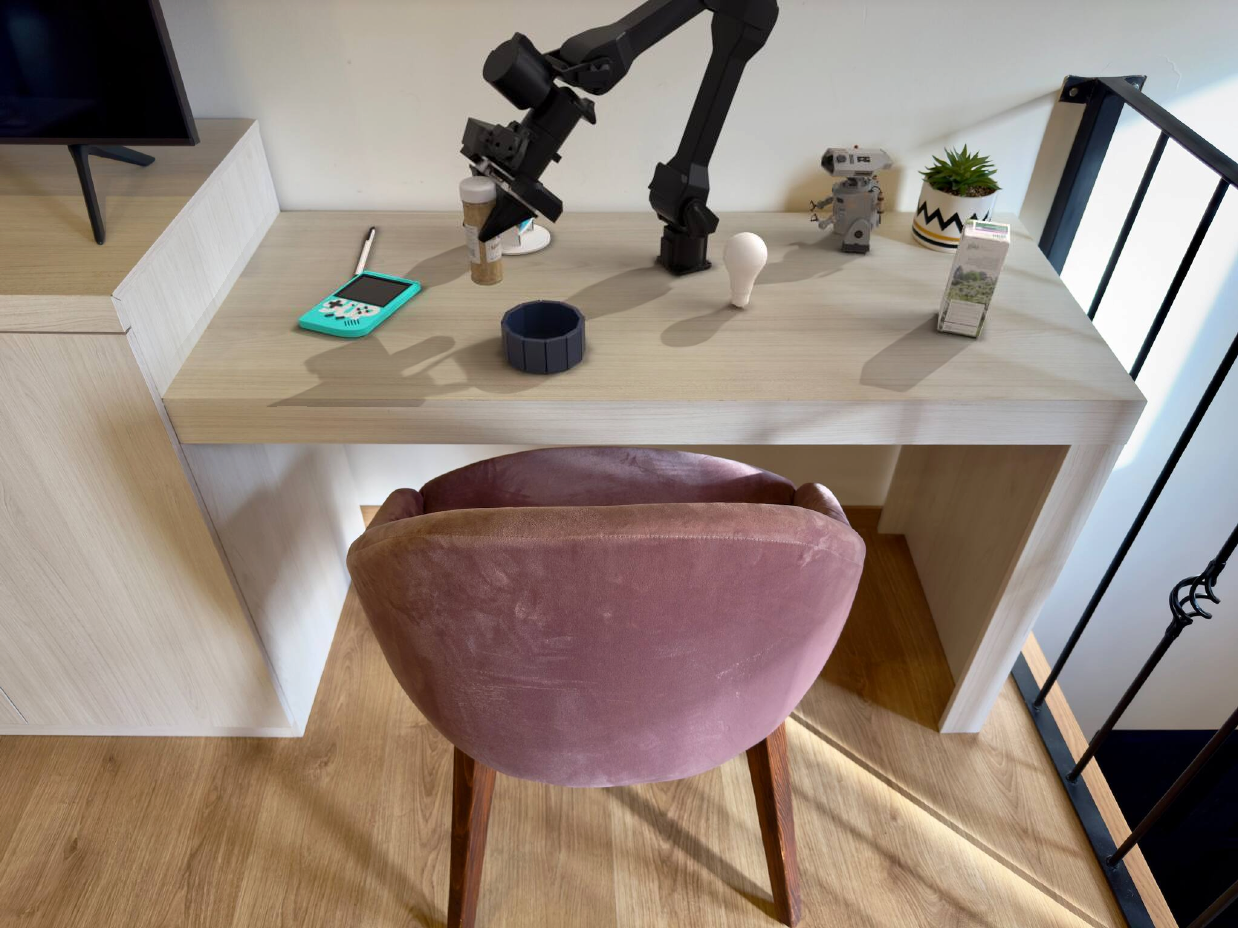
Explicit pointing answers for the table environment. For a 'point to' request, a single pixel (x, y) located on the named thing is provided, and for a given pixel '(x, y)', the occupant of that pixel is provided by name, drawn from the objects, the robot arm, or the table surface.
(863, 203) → the figurine
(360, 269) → the pen
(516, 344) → the pot
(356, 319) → the handheld game console
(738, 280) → the lightbulb
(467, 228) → the sprinkles bottle
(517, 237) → the panda figurine
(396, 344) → the table surface
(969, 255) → the syrup box
